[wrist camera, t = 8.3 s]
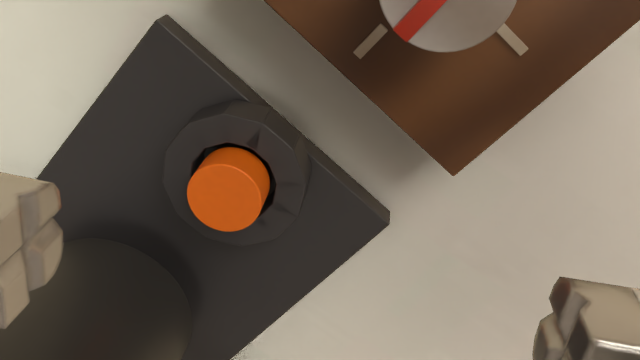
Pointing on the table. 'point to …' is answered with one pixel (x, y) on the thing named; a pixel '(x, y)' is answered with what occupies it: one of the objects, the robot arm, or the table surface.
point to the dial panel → (460, 65)
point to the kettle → (102, 309)
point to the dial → (446, 21)
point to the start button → (228, 189)
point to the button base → (172, 181)
